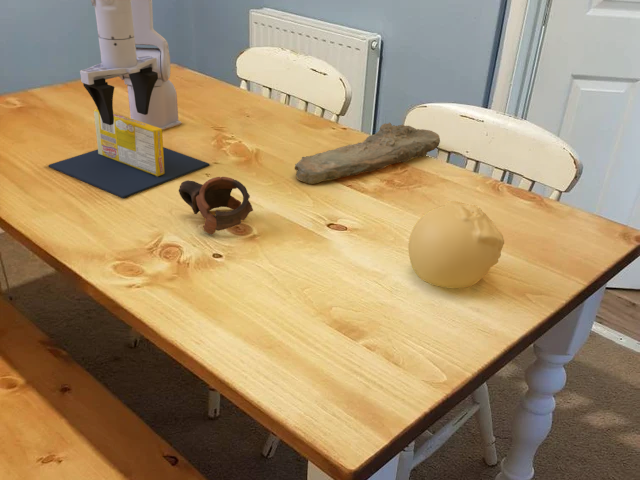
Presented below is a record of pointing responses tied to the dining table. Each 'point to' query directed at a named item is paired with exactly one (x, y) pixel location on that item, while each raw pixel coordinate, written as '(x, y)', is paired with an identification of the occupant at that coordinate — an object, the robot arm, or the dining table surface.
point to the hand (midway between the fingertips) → (125, 118)
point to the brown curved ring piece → (216, 202)
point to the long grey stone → (368, 154)
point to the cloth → (125, 172)
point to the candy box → (131, 143)
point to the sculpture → (454, 245)
